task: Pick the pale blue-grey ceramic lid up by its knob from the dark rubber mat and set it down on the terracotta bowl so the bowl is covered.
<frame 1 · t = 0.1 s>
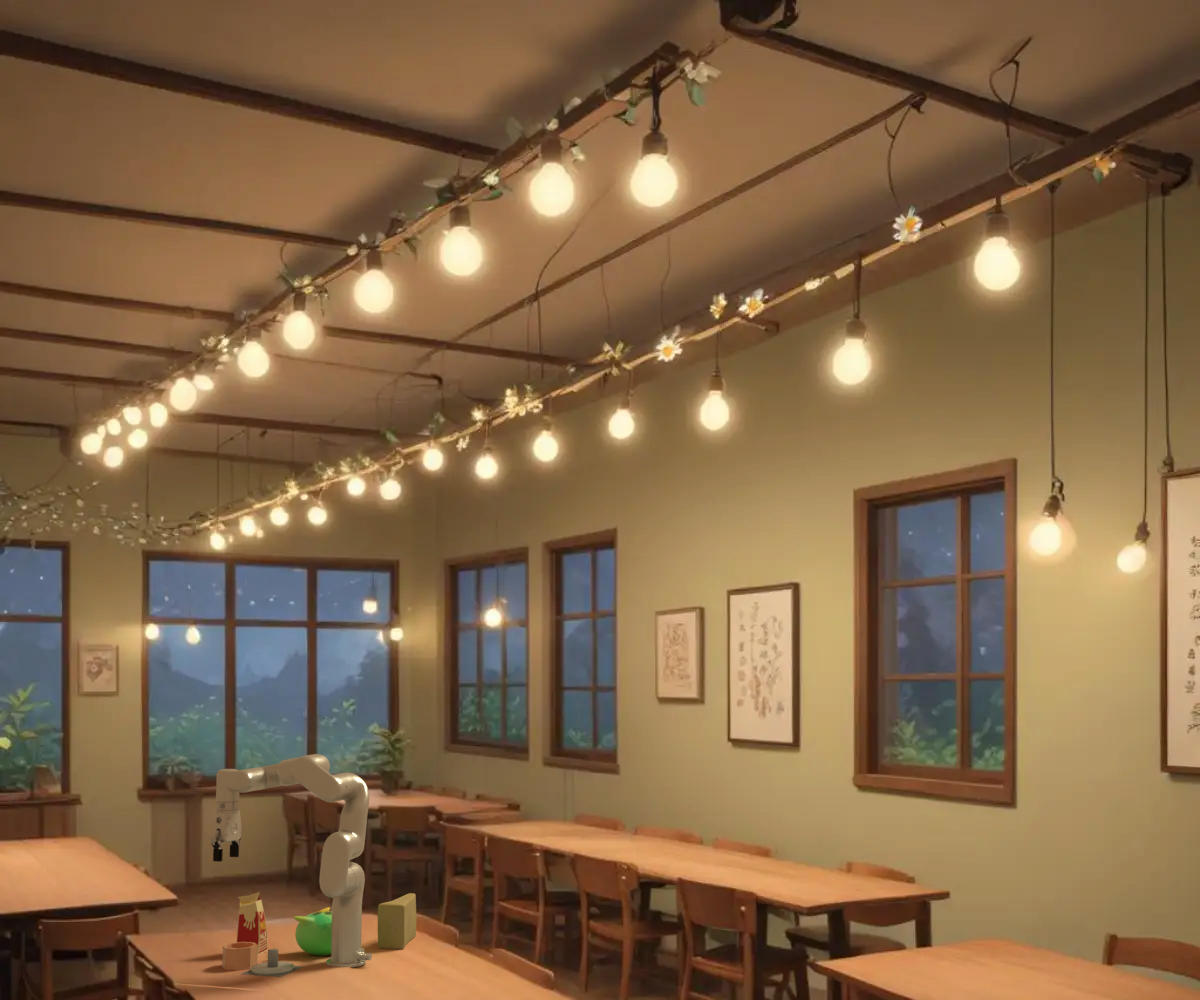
hand: (226, 859, 438), 31 cm above the table, tool pointing down, fingers open, 9 cm apart
olive green block: (402, 943, 453), on the table
toy bird: (322, 955, 434), on the table
lid: (272, 970, 411), point 1 cm above the table, touching mat
mat: (272, 972, 411), on the table
bowl: (239, 968, 416), on the table
milk carton: (250, 954, 437), on the table
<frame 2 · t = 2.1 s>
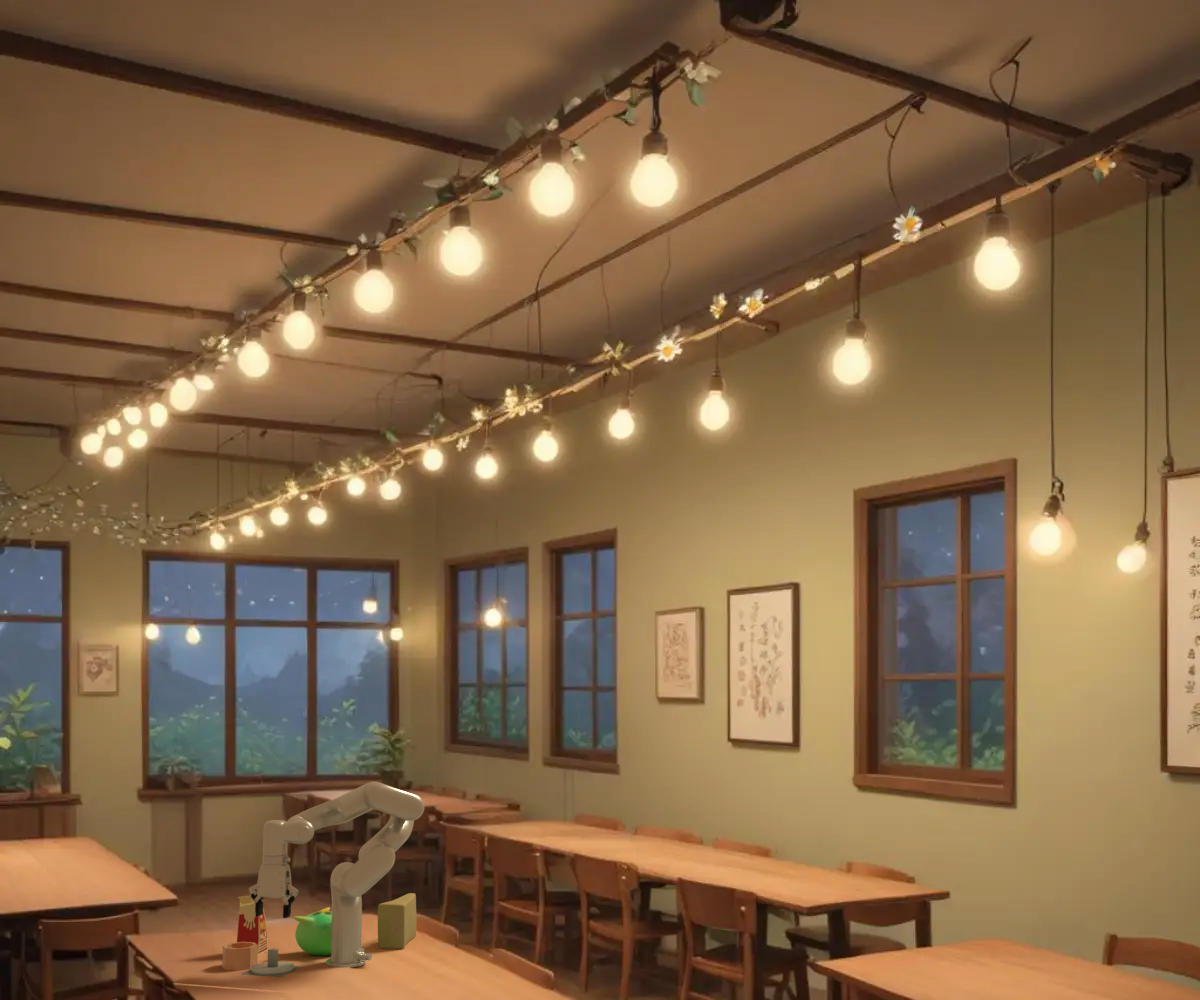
hand: (272, 916, 413), 17 cm above the table, tool pointing down, fingers open, 9 cm apart
nothing on the table moved.
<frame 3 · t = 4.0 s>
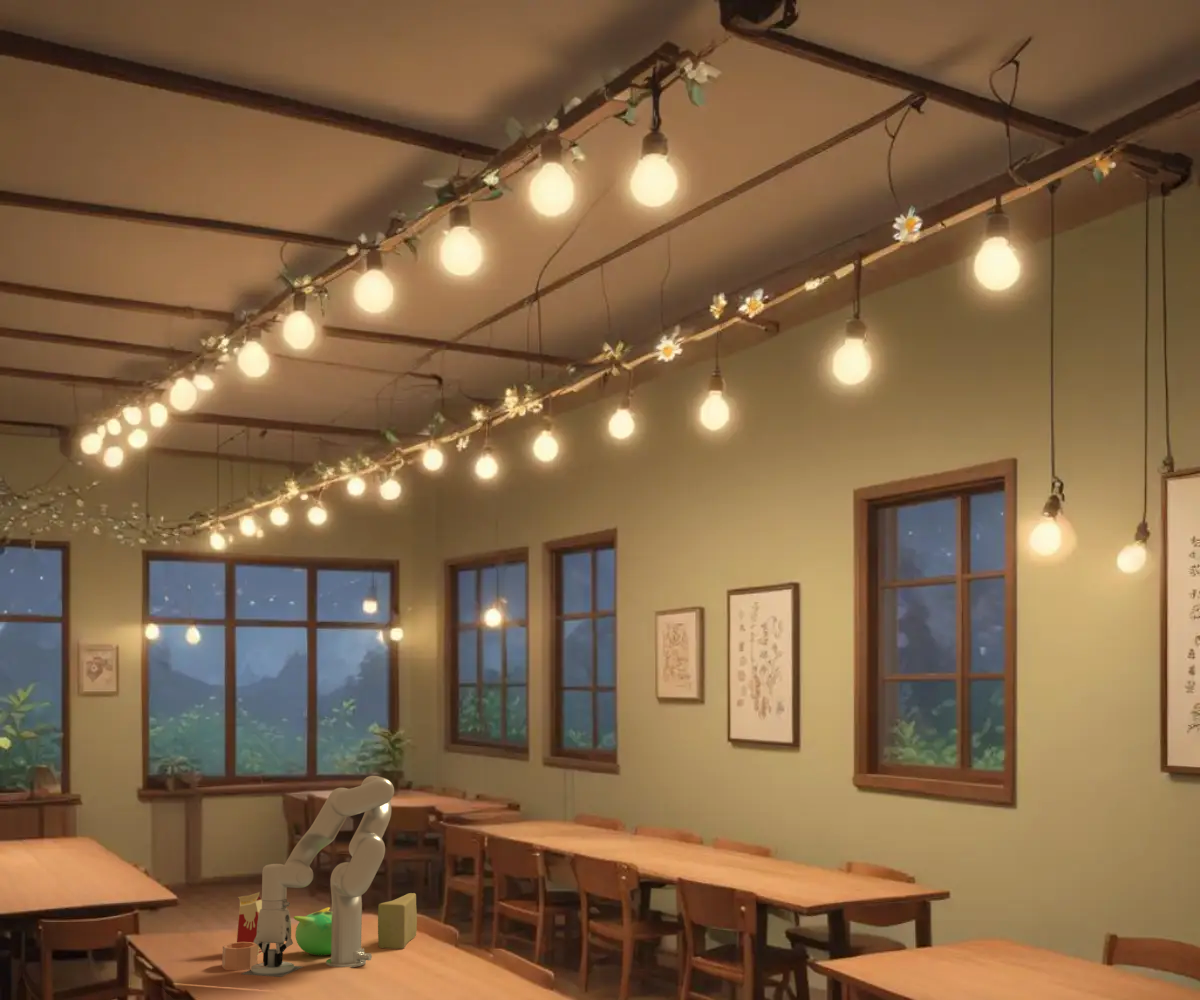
hand: (272, 964, 411), 2 cm above the table, tool pointing down, fingers closed on lid, 3 cm apart
lid: (272, 970, 411), point 1 cm above the table, touching gripper, mat
everything else where it was.
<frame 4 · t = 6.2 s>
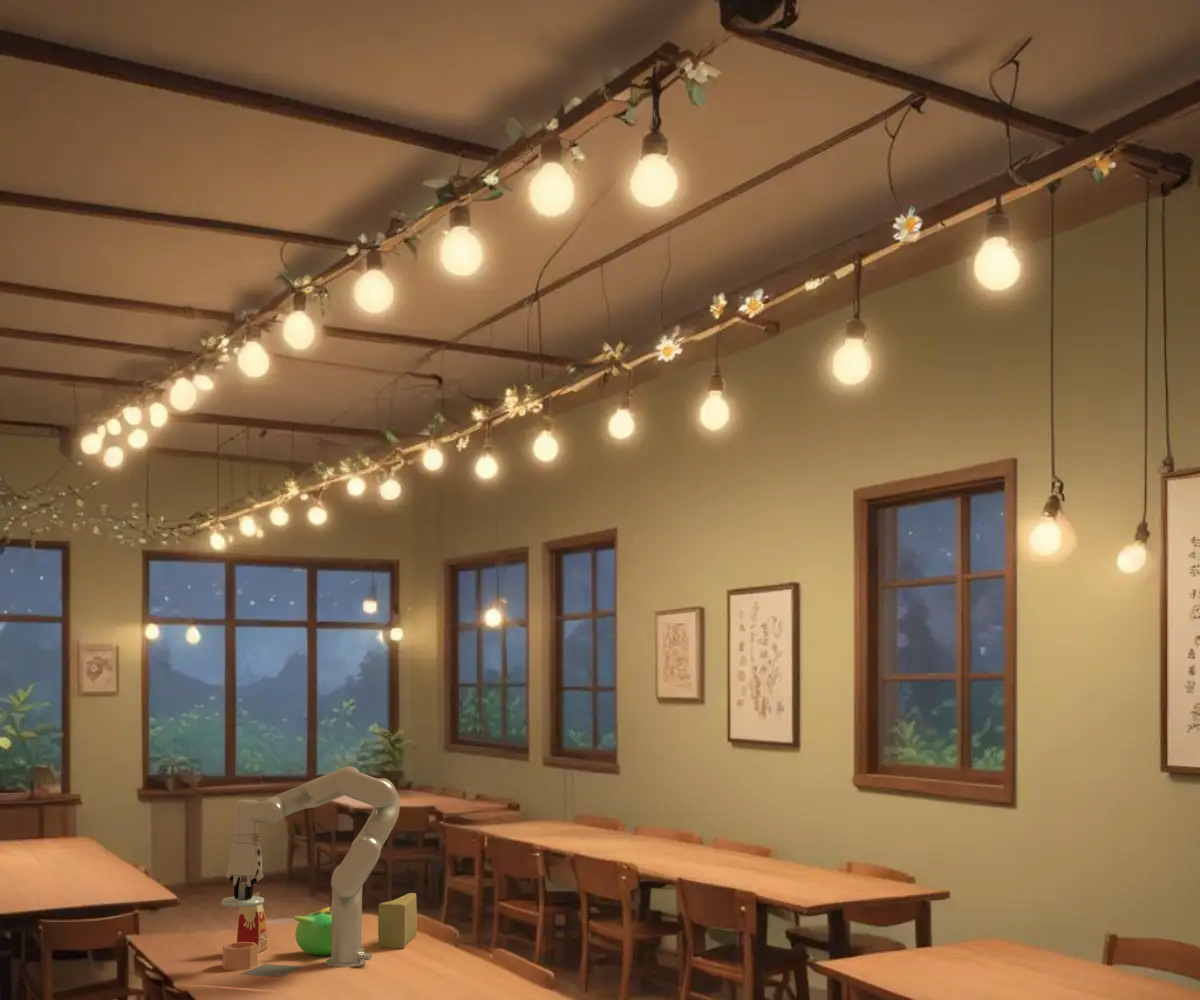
hand: (243, 897, 418), 22 cm above the table, tool pointing down, fingers closed on lid, 3 cm apart
lid: (242, 903, 418), point 20 cm above the table, touching gripper
everything else where it was.
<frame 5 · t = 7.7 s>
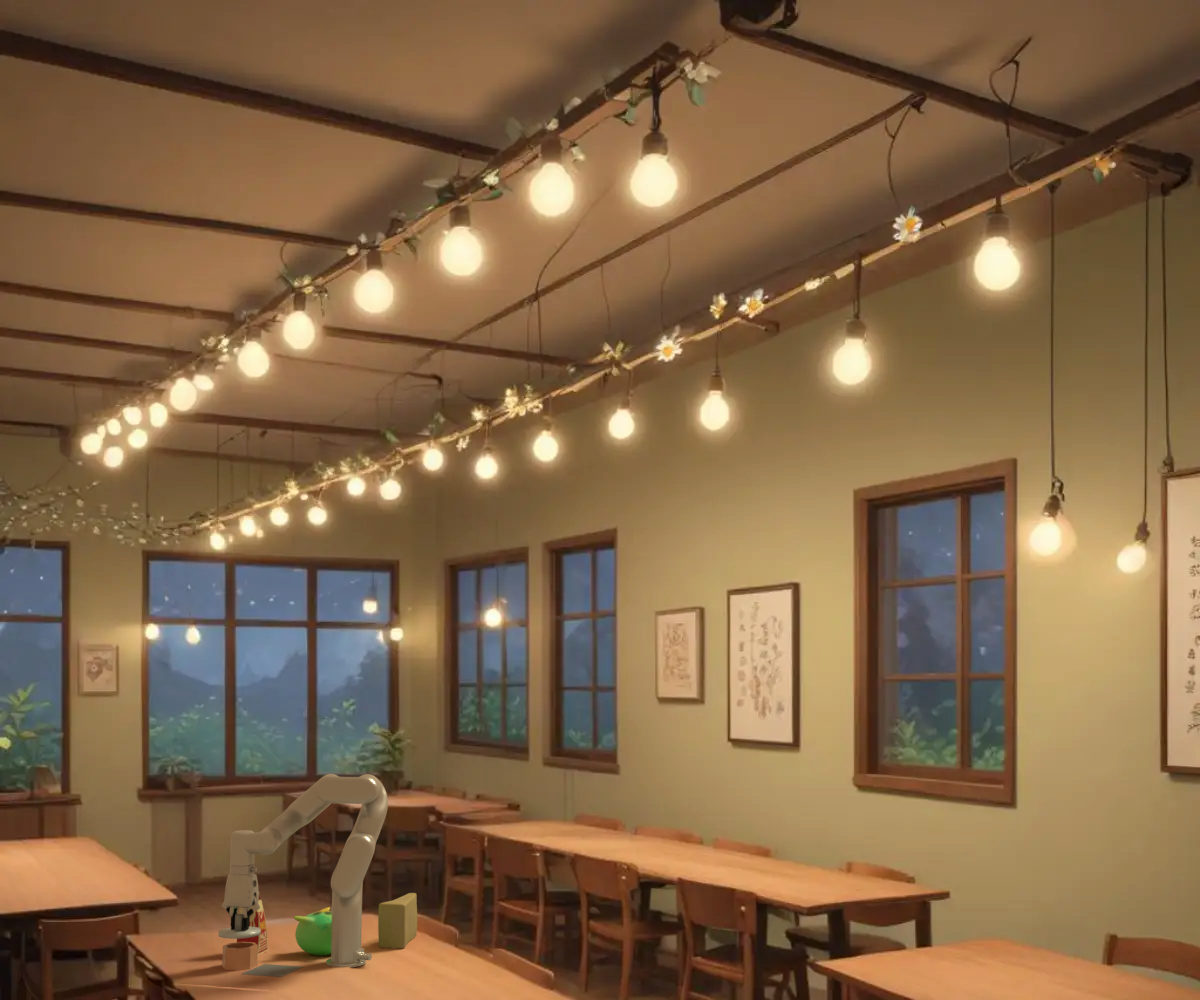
hand: (239, 929, 418), 12 cm above the table, tool pointing down, fingers closed on lid, 3 cm apart
lid: (239, 934, 417), point 10 cm above the table, touching gripper
everything else where it was.
when the fingers open (10 cm above the table, at t = 8.7 s): lid drops 2 cm, resting on bowl.
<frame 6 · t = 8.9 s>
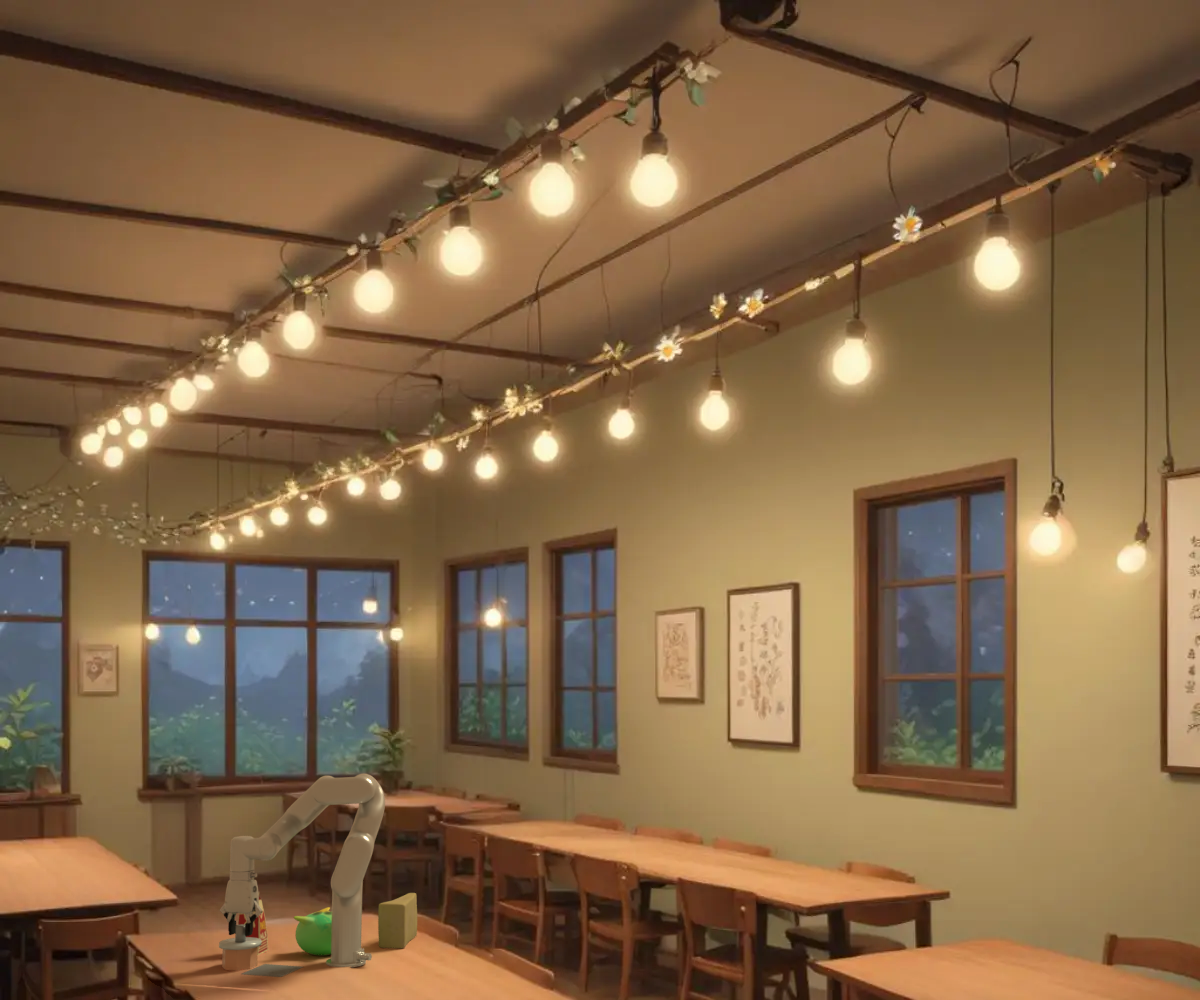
hand: (240, 934, 418), 10 cm above the table, tool pointing down, fingers open, 5 cm apart
lid: (240, 945, 417), point 7 cm above the table, touching bowl
everything else where it was.
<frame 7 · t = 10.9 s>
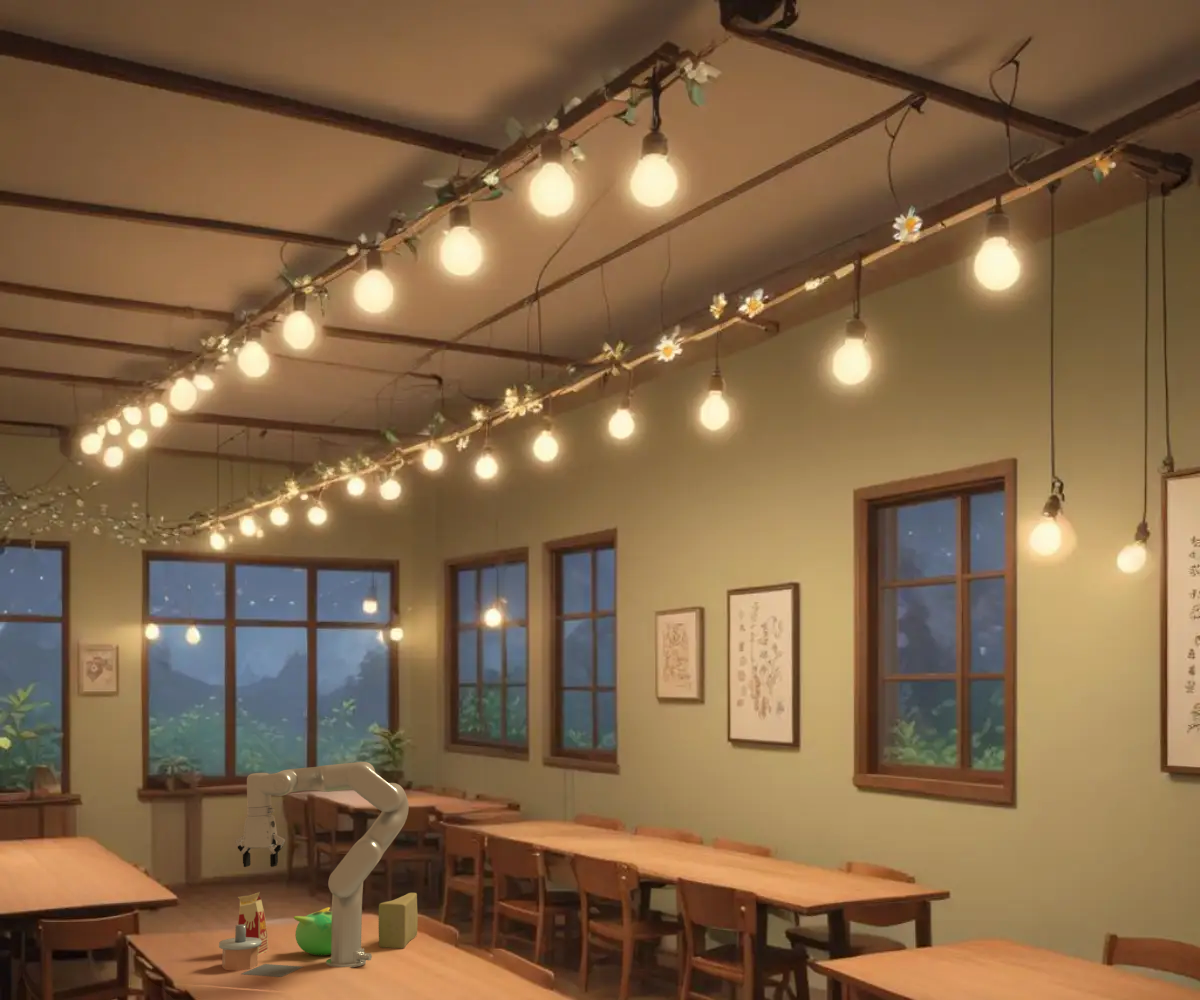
hand: (260, 866, 423), 31 cm above the table, tool pointing down, fingers open, 9 cm apart
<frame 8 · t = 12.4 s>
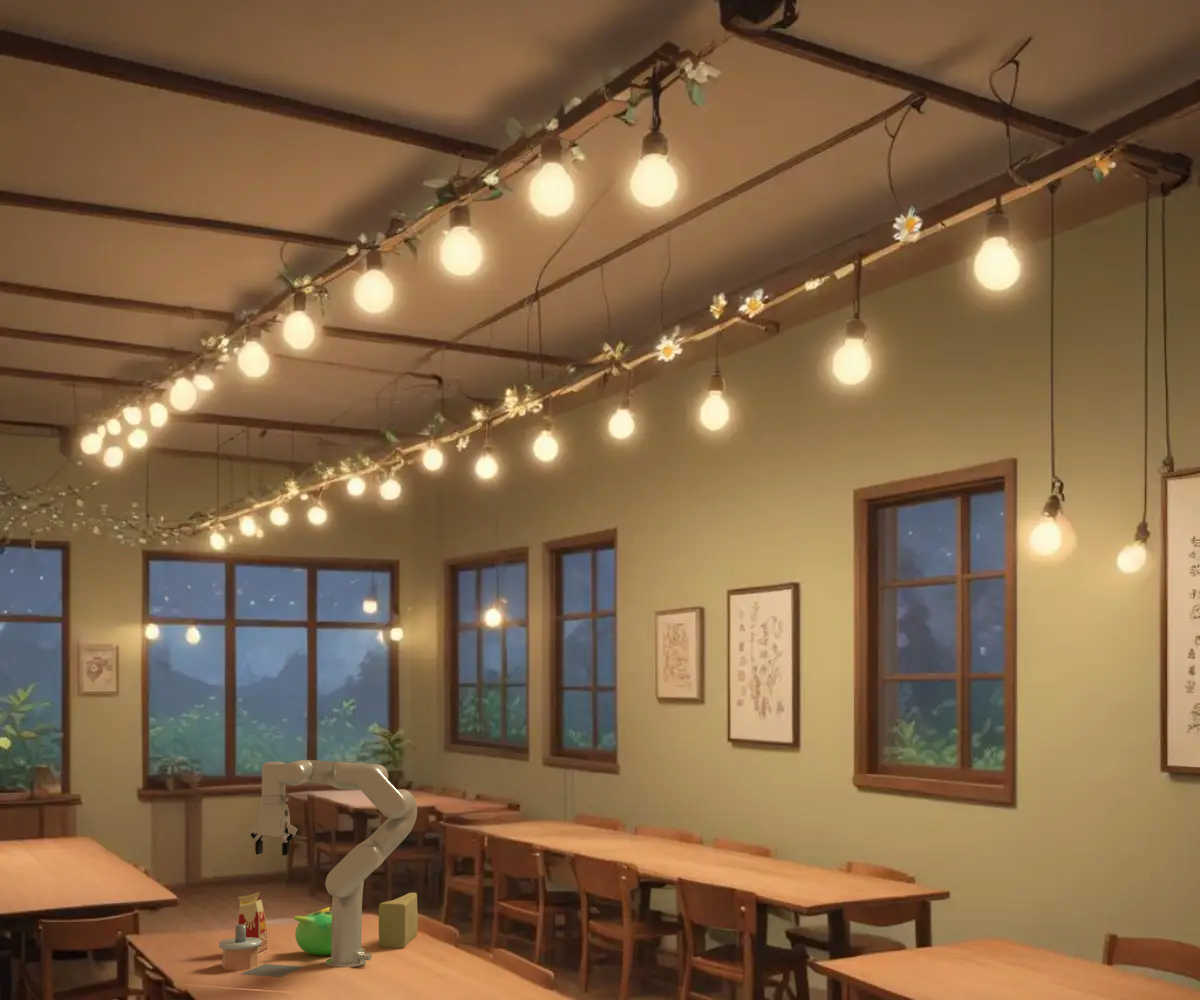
hand: (272, 854, 426), 34 cm above the table, tool pointing down, fingers open, 9 cm apart
at the end: lid 0.1 cm off-centre on the bowl, point 7.0 cm above the bowl's base; lid tilted 0°; the gripper is holding nothing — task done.
